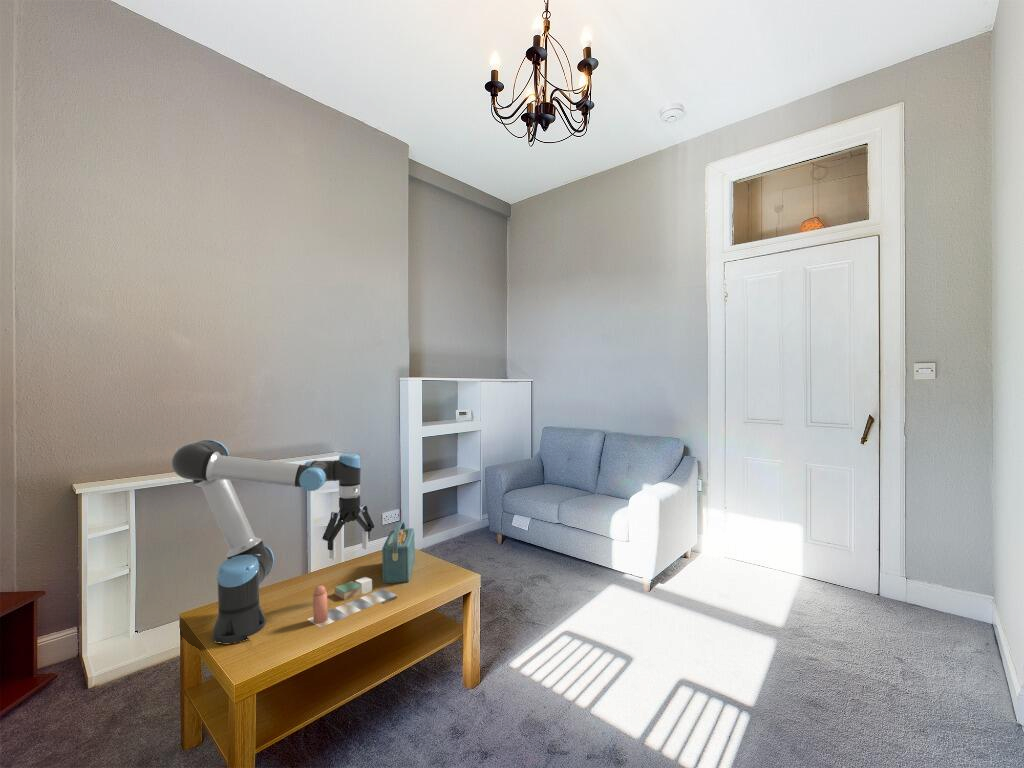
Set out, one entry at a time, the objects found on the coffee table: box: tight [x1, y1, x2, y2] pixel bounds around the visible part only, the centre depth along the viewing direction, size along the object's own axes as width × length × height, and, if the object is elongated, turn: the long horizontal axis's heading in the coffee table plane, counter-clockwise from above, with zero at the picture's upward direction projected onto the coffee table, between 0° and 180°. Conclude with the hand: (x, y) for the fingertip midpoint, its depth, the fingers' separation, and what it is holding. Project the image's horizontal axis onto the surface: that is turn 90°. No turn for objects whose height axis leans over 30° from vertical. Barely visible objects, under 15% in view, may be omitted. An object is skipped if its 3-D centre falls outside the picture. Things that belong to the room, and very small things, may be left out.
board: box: [307, 588, 398, 628], centre depth 167 cm, size 30×9×1 cm, turn 139°
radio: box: [381, 521, 416, 585], centre depth 201 cm, size 26×11×20 cm, turn 6°
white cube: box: [354, 576, 373, 595], centre depth 182 cm, size 4×4×4 cm
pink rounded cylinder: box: [312, 585, 328, 624], centre depth 158 cm, size 4×4×12 cm
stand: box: [334, 581, 362, 601], centre depth 177 cm, size 7×7×4 cm
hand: (349, 553), depth 173 cm, fingers open, 13 cm apart
